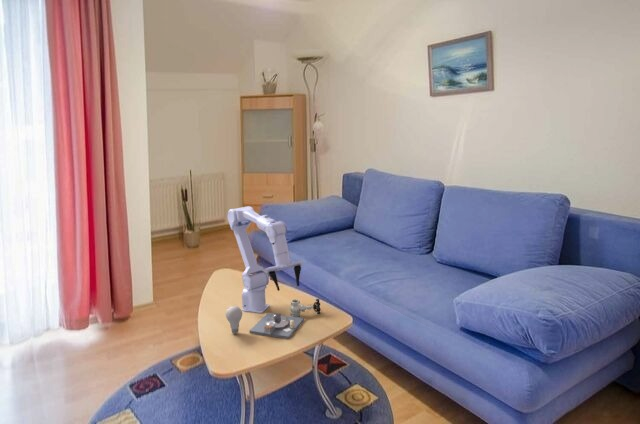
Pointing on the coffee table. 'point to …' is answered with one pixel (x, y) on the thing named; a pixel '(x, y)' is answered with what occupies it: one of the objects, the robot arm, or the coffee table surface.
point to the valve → (303, 307)
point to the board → (282, 332)
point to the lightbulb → (234, 318)
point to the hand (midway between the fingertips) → (288, 287)
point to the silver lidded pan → (275, 323)
